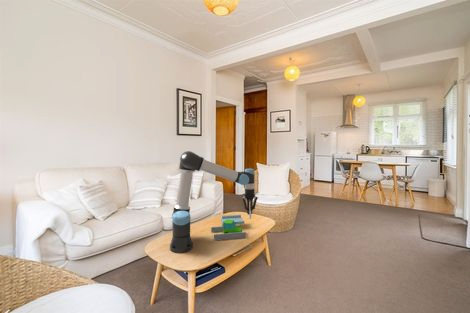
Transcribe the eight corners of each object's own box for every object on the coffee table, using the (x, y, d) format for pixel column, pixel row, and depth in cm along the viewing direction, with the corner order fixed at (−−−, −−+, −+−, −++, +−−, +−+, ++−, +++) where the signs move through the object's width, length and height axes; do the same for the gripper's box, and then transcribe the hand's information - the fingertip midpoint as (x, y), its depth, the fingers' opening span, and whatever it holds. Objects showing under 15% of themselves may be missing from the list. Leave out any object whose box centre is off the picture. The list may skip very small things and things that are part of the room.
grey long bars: (214, 240, 165) (214, 234, 165) (211, 232, 181) (211, 227, 181) (245, 237, 170) (245, 232, 170) (240, 229, 186) (240, 224, 186)
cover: (244, 228, 187) (244, 219, 187) (222, 230, 183) (222, 220, 183) (240, 223, 200) (240, 214, 200) (219, 225, 196) (219, 215, 195)
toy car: (240, 237, 170) (240, 224, 170) (223, 236, 173) (223, 223, 172) (242, 232, 180) (242, 220, 180) (226, 231, 183) (226, 219, 182)
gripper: (242, 189, 173) (243, 220, 174) (259, 188, 176) (259, 219, 177) (240, 187, 180) (240, 217, 181) (256, 187, 183) (256, 216, 184)
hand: (249, 218), depth 179 cm, fingers closed
